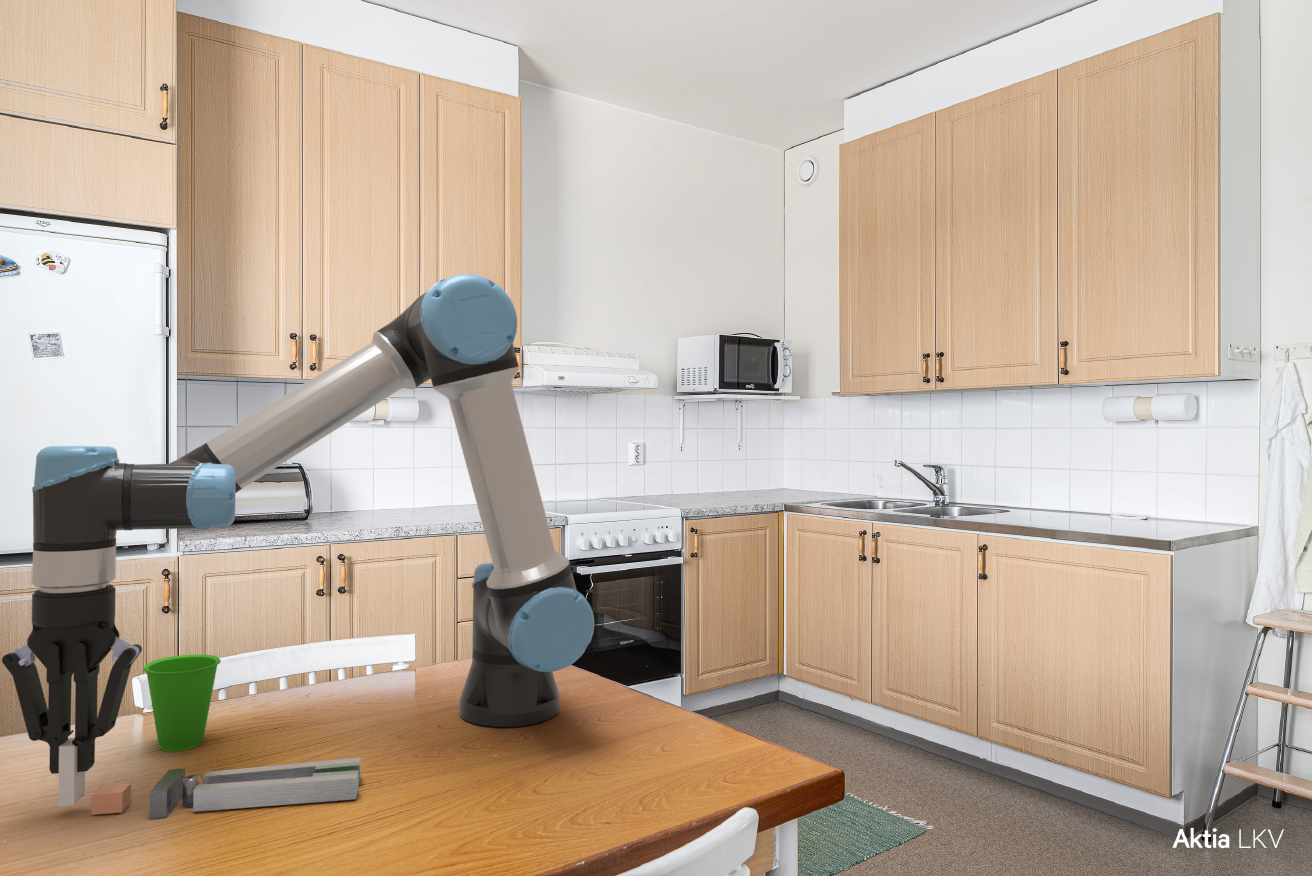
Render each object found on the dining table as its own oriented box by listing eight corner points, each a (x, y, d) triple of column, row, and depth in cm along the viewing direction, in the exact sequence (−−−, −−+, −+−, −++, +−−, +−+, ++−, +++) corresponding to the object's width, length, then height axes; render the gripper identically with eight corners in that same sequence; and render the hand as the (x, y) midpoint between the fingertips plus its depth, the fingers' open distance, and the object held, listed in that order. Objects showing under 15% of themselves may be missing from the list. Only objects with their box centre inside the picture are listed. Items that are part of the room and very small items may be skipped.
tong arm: (360, 777, 101) (360, 757, 101) (359, 784, 99) (359, 764, 99) (205, 792, 96) (205, 771, 96) (200, 801, 94) (201, 780, 94)
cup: (185, 760, 106) (186, 674, 106) (124, 753, 108) (126, 669, 108) (234, 735, 115) (235, 656, 115) (177, 730, 117) (179, 652, 117)
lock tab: (130, 802, 93) (130, 783, 93) (121, 812, 91) (122, 792, 91) (100, 805, 92) (100, 785, 92) (91, 814, 90) (91, 794, 90)
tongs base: (361, 781, 100) (361, 756, 100) (355, 802, 95) (355, 776, 95) (168, 795, 96) (168, 769, 96) (149, 818, 90) (149, 791, 90)
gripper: (153, 578, 96) (150, 782, 96) (24, 581, 93) (21, 791, 93) (127, 590, 89) (124, 810, 89) (-13, 594, 86) (-17, 821, 86)
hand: (71, 800), depth 91 cm, fingers closed
